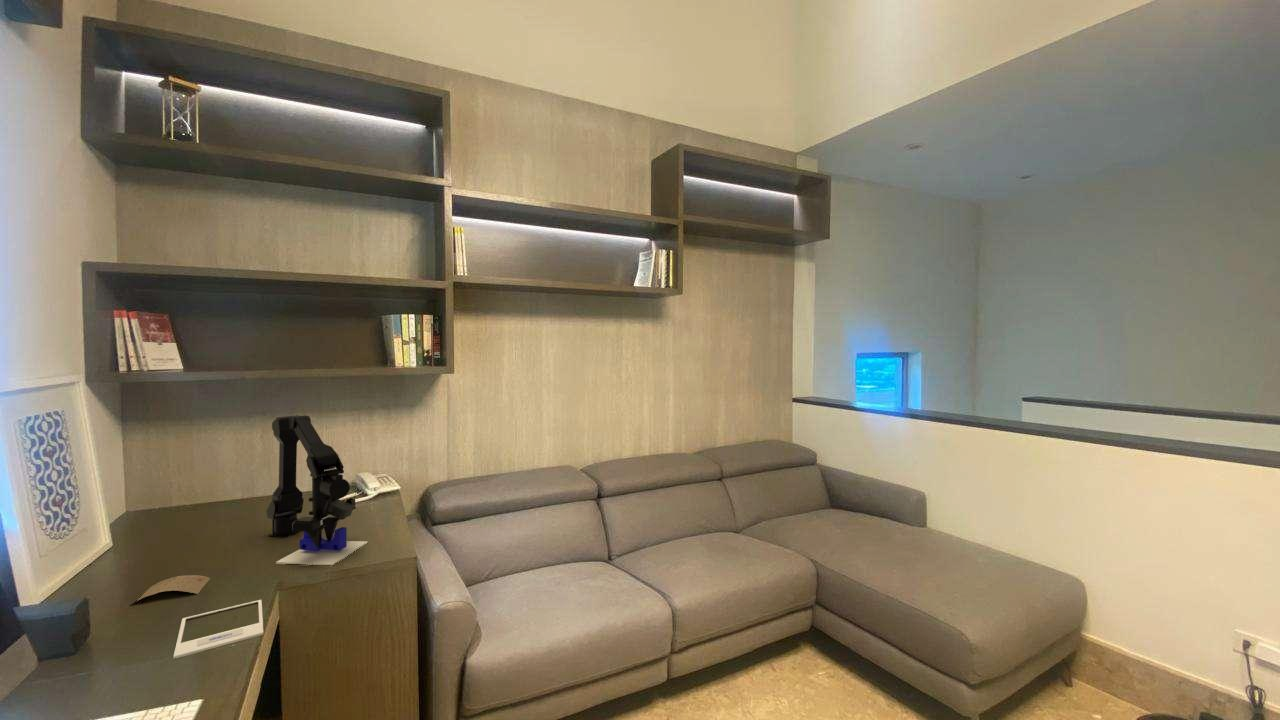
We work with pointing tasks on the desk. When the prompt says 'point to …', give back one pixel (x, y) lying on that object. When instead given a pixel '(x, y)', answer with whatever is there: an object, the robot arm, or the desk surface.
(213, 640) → the photo frame
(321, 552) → the desk mat
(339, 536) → the cable clip
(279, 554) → the desk surface
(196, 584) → the brown curved sheet
